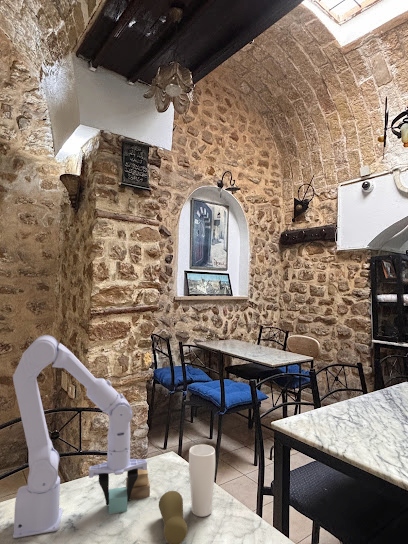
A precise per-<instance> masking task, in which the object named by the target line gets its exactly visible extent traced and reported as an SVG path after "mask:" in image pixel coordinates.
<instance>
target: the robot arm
mask: <svg viewBox="0 0 408 544" xmlns="http://www.w3.org/2000/svg"><path fill="white" fill-rule="evenodd" d="M50 364H52V365H51V367H52V368H59V369H64V370H66V372H68V373H69V374H70V375H71V376H72V377H73V378H74V379H76V380H77V381H78V382H79V383H80V384H82V386H84V387H85V389H86V397H87V398H88V399H89V400H90V401H91V402H92V403H93V404H94V405H95V406H96V407H97V408H98V409H99V410H100V411H102V413H104V414H107V415H108V430H107V452H106V453H107V454H106V455H107V460H106V461H105V462H102V463H97V464H95V465H90V466H89V468H88V478H89V479H91V478H94V477H95V476H98V484H99V486H100V488H101V489H102V492H103V495H104V498H105V506H109V487H110V486H109V485H110V484H109V483H110V480H109V479H110V477H109V476H110V474H114V475H115V476H120V475H124V473H125V472H126V473H127V474H126V475H127V477H126V478H127V503H130V501H131V499H130V496H131V492H132V489H133V486H134V484H135V482H136V480H137V478H138V470H140V469H143V470H147V471H148V461H147V458H143V459H140V458H139V459H138V458H136V459H135V458H131V421H132V419H133V416H134V413H133V411H132V407H131V405H130V403H129V401H128V400H127V398H126V397H125V396H124V394H123V393H119V392H118V391H117V390H116V389H115V388H114V387H113V386H112V381H110V379H107V380H105V378H103V377H99V378H98V377H95V376H94V374H93V373H91V372H90V371H89V369H88V368H87V367H86V366H85V365H84V364H83V363H82V362H81V361H80V360H79V359H78V357H76V356H75V354H74V353H73V352H72V351H71V350H70V349H69V348H67V346H65V345H63V344H62V343H61V342H59V341H58V339H56V337H54V336H52V335H47V334H45V335H41V336H39V337H37V338H35V339H34V341H33V342H32V343H31V344H30V345H29V346H28V348H27V349H26V350H25V351H24V352H23V353H22V355H21V358H20V360H19V362H18V365H17V366H16V369H15V371H14V373H13V375H12V381H13V385H14V386H13V387H14V390H15V391H14V392H15V395H16V399H17V405H18V409H19V413H20V417H21V418H20V419H21V422H22V423H21V424H22V427H23V431H24V437H25V441H26V445H27V449H28V467H29V472H28V476H27V484H25V485H23V486H20V487H18V489H17V493H16V496H15V497H16V498H15V502H14V519H13V535H12V538H13V539H18V538H24V537H27V536H34V535H39V534H46V533H51V532H57V531H58V530H59V528H60V524H61V518H62V514H63V508H62V507H60V499H61V498H60V495H61V494H60V492H61V491H60V490H61V478H60V476H59V473H58V471H59V463H60V454H59V452H58V451H57V450H56V449H55V448H54V445H53V442H52V440H51V438H50V435H49V429H48V425H47V422H46V421H47V420H46V417H45V412H44V407H43V402H42V399H41V398H42V397H41V393H40V388H39V385H38V384H39V383H38V380H37V377H39V374H40V373H41V372H42V370H43V369H45V368H46V367H47V366H49V365H50Z"/></svg>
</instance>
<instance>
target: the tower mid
mask: <svg viewBox="0 0 408 544" xmlns="http://www.w3.org/2000/svg"><path fill="white" fill-rule="evenodd" d="M148 474H149V473H148V469H147V470H143V469H140V470H138V478H137V480H136V482H135V484H134V486H133V487H135V486H143V485H148V479H149V475H148Z"/></svg>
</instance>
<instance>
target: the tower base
mask: <svg viewBox="0 0 408 544" xmlns="http://www.w3.org/2000/svg"><path fill="white" fill-rule="evenodd" d="M125 479H126V481H125V487H127V477H126V478H125ZM149 479H150V478H148V485H143V486H135V487H133V489H132V492H131V496H130V500H134V499H142V498H149V497H150V496H151V494H150V493H151V491H150V490H151V486H150V485H151V484H150V480H149Z"/></svg>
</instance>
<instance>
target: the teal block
mask: <svg viewBox="0 0 408 544" xmlns="http://www.w3.org/2000/svg"><path fill="white" fill-rule="evenodd" d="M122 512H124V513H125V512H128V502H127V487H126V486H123V487H117V488H110V489H109V505H108V515H110V514H111V515H112V514H117V513H122Z"/></svg>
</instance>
